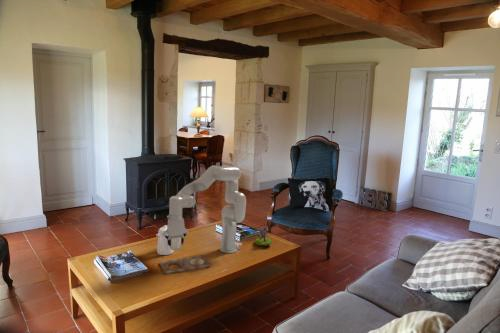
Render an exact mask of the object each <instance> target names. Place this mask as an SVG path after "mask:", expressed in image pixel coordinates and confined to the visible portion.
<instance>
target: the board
mask: <svg viewBox="0 0 500 333" xmlns="http://www.w3.org/2000/svg"><path fill="white" fill-rule="evenodd" d="M158 263H159V266H160V267H161V269H162V271H163V273H164V275H165V276H166V275H172V274H178V273H184V272H190V271H195V270H196V271H197V270H202V269H208V268H211V264H210V263H209V262H208V261H207V260H206V258H205V257H204V255H196V256H191V257H184V258H176V259H170V260H169V259H168V260H163V261H159V262H158ZM170 265H178V266H179V267H175V268H170V267H169V266H170Z"/></svg>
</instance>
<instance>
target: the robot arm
mask: <svg viewBox="0 0 500 333" xmlns="http://www.w3.org/2000/svg"><path fill="white" fill-rule="evenodd" d="M241 176H242V171H241V169H240V168H238V167H235V166H232V165H227V164H223V165H221V166H220V165H219V166H218V165H210V167H208V168H207V169H206V170H205V171H204V172H203V173H202V174H201V175H200V176H199V177H198V179H196V180H194V181H191V182H190V183H187V184H186V185H184V186H183V187H182V189H180V190H179V191H178V193H177V194H176V195H172V196H171V197H169V208H168V209H169V213H168V215H166V218H167V230H166V231H165V232H164V233H163V236H164V237H165V238H167V239H168V245H169V246H171V240H170V238H171V236H179V235H181V246H183V244H184V243H185V242H184V239H185V237H186V236H187V235H188V233H189V230H188V229H187V228H186V227H185V220H184V218H183V209H188V208H193V207H194V206H196V203H197V201H196V197H195V196H193V195H192V194H194V193H196V192H200V191H206V190H208V189H209V188H210V186H211V185H213V183H215V181H216V180H218V181H220V182H225V193H224V194H225V195H224V201H225V202H226V203H227V204H229V205H227V204H226V205H224V206H223V207H222V209H221V219H222V232H221V234H222V235H221V246H219V251H220V252H222V253H225V254H232V253H236V252H238V250H239V249H238V247H242V246H243V244H242V242H240V243H239V242H237V241H236V240H237V239H236V238H237V224H240V223H242V222H243V221H244V220H245V218H246V217H245V216H246V209H247V208H246V207H247V197H246V195H245V194H244V193H242V192H240V191H239V180H240V178H241ZM166 233H167V234H168V236H167V235H166Z"/></svg>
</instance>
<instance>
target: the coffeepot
mask: <svg viewBox="0 0 500 333" xmlns="http://www.w3.org/2000/svg"><path fill="white" fill-rule="evenodd" d="M166 230H167V225H166V224H165V225H163V226H162V227H160V228H159V229H158V231H157V232H158V233H156V234H155V235H156V237H157V246H156V253H157V254H158V255H160V256H169V255H171V254H173V253H174V252H175V250H171V249H170V246H169V245H168V239H167V238H165V237H164V236H163V233H164V232H165V231H166ZM166 235H167V236H168V234H167V233H166Z"/></svg>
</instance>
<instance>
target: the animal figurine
mask: <svg viewBox="0 0 500 333" xmlns="http://www.w3.org/2000/svg"><path fill="white" fill-rule="evenodd" d="M260 229H261V231H260V236H259V237H257V238H255V239H254V241H253V242H254V243H255V244H256V245H259V246H263V247H264V246H265V247H266V246H269V245H271V244H272V242H273V240H272V239H271V238H269V237H266V236H268V235H270V234H268V233H267V232H268V231H269V227H268V225H265V226H264V227H262V228H260Z"/></svg>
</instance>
